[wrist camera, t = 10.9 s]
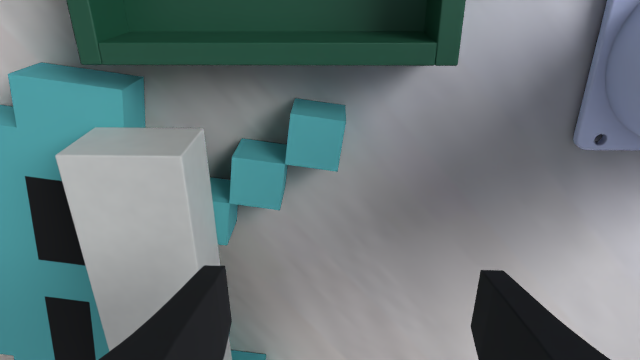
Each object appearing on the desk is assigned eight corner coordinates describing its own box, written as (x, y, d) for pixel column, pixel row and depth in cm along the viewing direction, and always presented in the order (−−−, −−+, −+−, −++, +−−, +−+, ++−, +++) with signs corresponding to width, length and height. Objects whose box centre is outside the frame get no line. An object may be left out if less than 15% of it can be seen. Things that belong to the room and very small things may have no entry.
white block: (204, 127, 19) (181, 156, 16) (235, 388, 25) (223, 439, 22) (94, 126, 19) (53, 155, 16) (154, 386, 25) (132, 437, 23)
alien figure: (345, 105, 20) (-116, 40, 20) (345, 121, 18) (-166, 49, 18) (295, 410, 29) (-25, 370, 28) (292, 443, 27) (-53, 401, 26)
